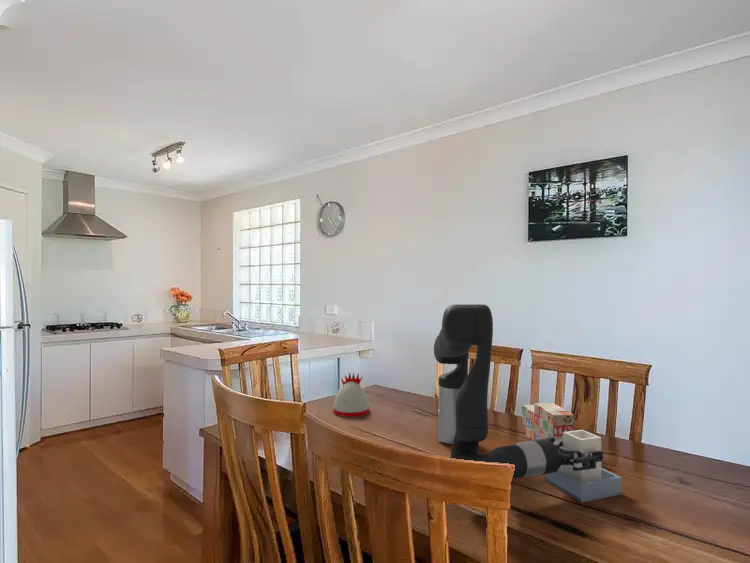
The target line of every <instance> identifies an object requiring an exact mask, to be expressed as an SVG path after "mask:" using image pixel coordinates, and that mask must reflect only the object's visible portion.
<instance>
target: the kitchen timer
mask: <svg viewBox="0 0 750 563" xmlns="http://www.w3.org/2000/svg"><path fill="white" fill-rule="evenodd" d="M359 375H360V374H359V373H357V374H356V378H355V373H354V372H352V376H351V373H350V372H349V373H348V377H347V375H345V376H344V378H345V379H343V378H340V380H341V383H342V384H343V385H341V386H340V388H339V390H338V391H337V392H336V393H337V394H336V396H335V398H334V402H333V410H332V411H333V414H334V413H335V414H334V415H336V414H337V415H336V416H339V415H340V416H339V417H344V416H347V417H348V418H353V417H354V418H356V416H357V417H361V416H362V415H363V416H366V415H369V413H370V403H369V399H368V396H367V395H368V393H367V392H366V391H365V389H364V387H363V386H362V385H361V384H360V383H361V382H362V379H363V376H361V377H360V376H359ZM344 380H345V381H344ZM365 414H366V415H365ZM363 416H362V417H363Z"/></svg>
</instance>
